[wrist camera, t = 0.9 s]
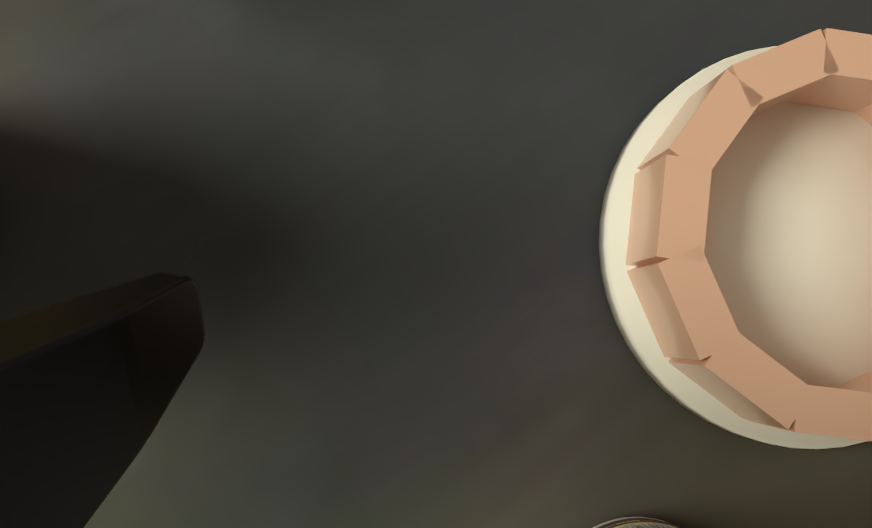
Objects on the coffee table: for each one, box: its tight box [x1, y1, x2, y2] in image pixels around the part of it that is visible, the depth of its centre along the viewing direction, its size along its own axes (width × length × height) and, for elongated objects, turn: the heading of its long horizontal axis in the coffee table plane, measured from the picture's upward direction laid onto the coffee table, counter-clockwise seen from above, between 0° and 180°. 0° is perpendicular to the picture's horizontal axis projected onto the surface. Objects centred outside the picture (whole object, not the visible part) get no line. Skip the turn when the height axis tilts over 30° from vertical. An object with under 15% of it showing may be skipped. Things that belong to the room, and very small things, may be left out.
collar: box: [599, 28, 872, 449], centre depth 22 cm, size 12×12×4 cm
